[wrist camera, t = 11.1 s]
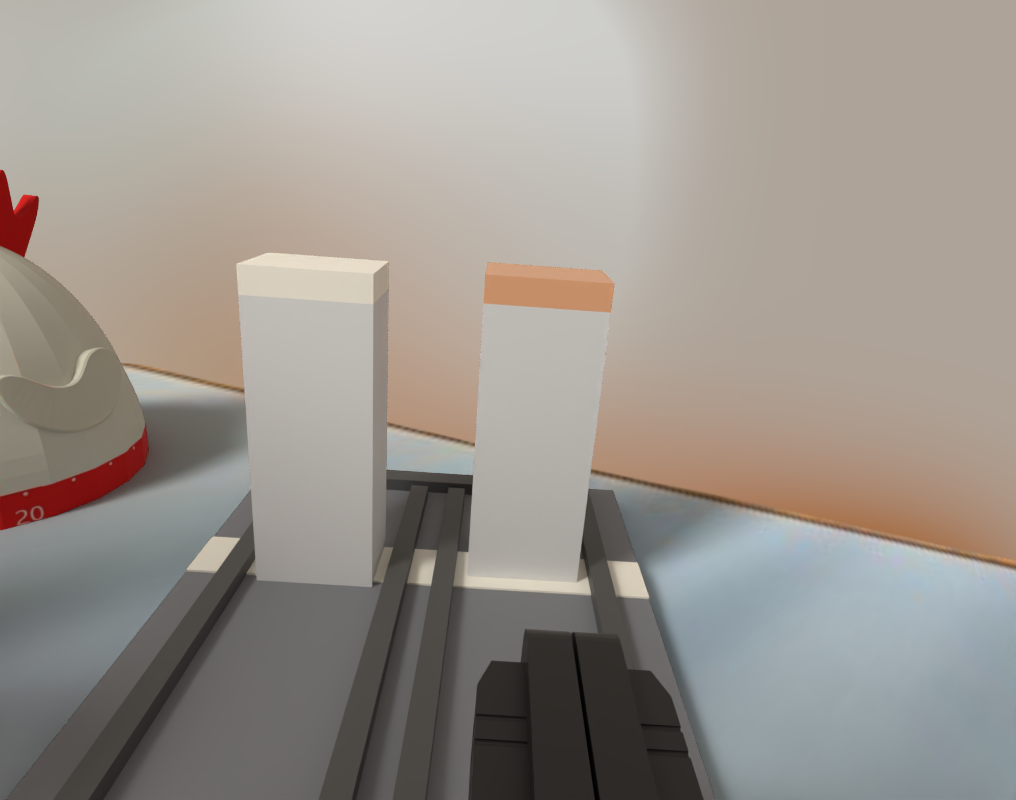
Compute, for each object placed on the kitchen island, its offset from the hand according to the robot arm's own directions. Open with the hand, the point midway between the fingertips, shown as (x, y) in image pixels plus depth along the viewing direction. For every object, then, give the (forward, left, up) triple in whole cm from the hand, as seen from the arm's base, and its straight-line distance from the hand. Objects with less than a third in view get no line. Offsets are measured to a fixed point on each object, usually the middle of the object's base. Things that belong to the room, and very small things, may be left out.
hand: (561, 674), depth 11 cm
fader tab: (0, +15, -8) cm, 17 cm away
